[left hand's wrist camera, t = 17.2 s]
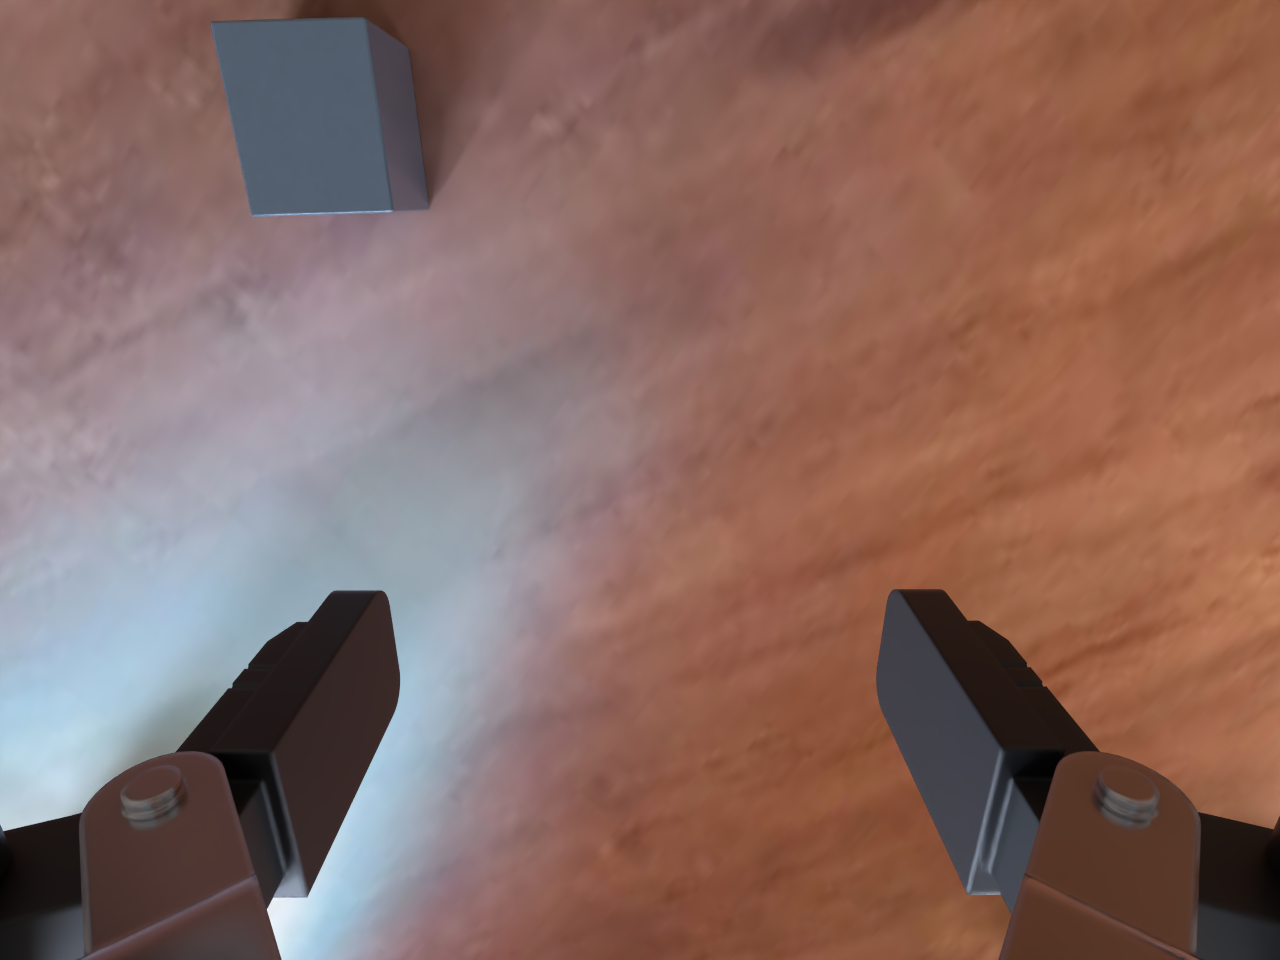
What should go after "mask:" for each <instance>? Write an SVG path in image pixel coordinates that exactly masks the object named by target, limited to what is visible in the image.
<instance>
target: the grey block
mask: <svg viewBox="0 0 1280 960" xmlns="http://www.w3.org/2000/svg"><path fill="white" fill-rule="evenodd" d="M211 28H212V33H213V38H214V42H215V47H216V52H217V56H218V61H219V66H220V70H221V75H222V80H223V84H224V89H225V94H226V98H227V103H228V108H229V112H230V117H231V122H232V126H233V131H234V136H235V140H236V145H237V150H238V154H239V159H240V164H241V168H242V173H243V178H244V182H245V187H246V192H247V196H248V201H249V206H250V210H251V214H252V216H254V217H269V216H301V215H333V214H365V213H394V212H411V211H427V210H429V203H428V195H427V187H426V179H425V171H424V164H423V156H422V148H421V140H420V132H419V125H418V117H417V109H416V101H415V93H414V86H413V78H412V70H411V62H410V54H409V48H408V47H407V46H406V45H404V44H403V43H401V42H400V41H398V40H397V39H396V38H394V37H393V36H391V35H390V34H388V33H387V32H385V31H384V30H383V29H381V28H380V27H378V26H377V25H375V24H374V23H372V22H371V21H370V20H368V19H367V18H365V17H333V18H299V19H266V20H232V21H212V22H211Z"/></svg>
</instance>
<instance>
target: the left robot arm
mask: <svg viewBox="0 0 1280 960" xmlns="http://www.w3.org/2000/svg"><path fill="white" fill-rule="evenodd" d="M248 665H249V666H248V669H244V670H243V672H242V673H241V674H240V675H239V676H238V678H237V679H236V680H235V681H234V682H233V687H232V688H228V690H227V691H226V692H225V693H224V694H223V696H222V697H221V698H220V699H219V700H218V702H217V703H216V704H215V705H214V706H213V708H212V709H211V710H210V711H209V713H208V714H207V715H206V716H205V717H204V719H203V720H202V721H201V722H200V723H199V725H198V726H197V727H196V728H195V729H194V731H193V732H192V733H191V734H190V735H189V737H188V738H187V739H186V740H185V741H184V743H183V744H182V745H181V746H180V747H179V749H178V750H177V751H176V752H175V753H171V754H166V755H162V756H159V757H156V758H153V759H150V760H147V761H145V762H143V763H140V764H138V765H136V766H134V767H132V768H130V769H128V770H126V771H125V772H123V773H121V774H120V775H118V776H117V777H115V778H114V779H112V780H111V781H110V782H108V783H107V784H106V785H104V786H103V787H102V788H101V789H100V790H99V791H98V792H97V793H96V794H95V795H94V796H93V797H92V798H91V800H90V801H89V802H88V804H87V805H86V807H85V808H84V810H83V812H82V813H79V814H76V815H72V816H68V817H63V818H59V819H55V820H50V821H46V822H42V823H37V824H33V825H29V826H24V827H20V828H16V829H12V830H7V831H3V830H2V828H1V825H0V960H281V957H280V953H279V950H278V946H277V943H276V940H275V936H274V933H273V929H272V926H271V923H270V919H269V916H268V913H267V908H268V906H269V904H270V902H271V900H272V898H273V897H308V895H309V892H310V890H311V888H312V886H313V884H314V882H315V880H316V878H317V875H318V873H319V871H320V869H321V867H322V865H323V863H324V861H325V859H326V856H327V854H328V852H329V850H330V848H331V846H332V844H333V842H334V839H335V837H336V835H337V833H338V831H339V829H340V827H341V825H342V823H343V820H344V818H345V816H346V814H347V812H348V810H349V808H350V806H351V803H352V801H353V799H354V797H355V795H356V793H357V791H358V789H359V787H360V784H361V782H362V780H363V778H364V776H365V774H366V772H367V770H368V767H369V765H370V763H371V761H372V759H373V757H374V755H375V753H376V750H377V748H378V746H379V744H380V742H381V740H382V738H383V736H384V734H385V731H386V729H387V727H388V725H389V723H390V721H391V719H392V717H393V714H394V712H395V709H396V706H397V702H398V697H399V690H400V671H399V664H398V657H397V651H396V644H395V638H394V631H393V624H392V618H391V611H390V605H389V601H388V597H387V595H386V594H385V592H383V591H333V592H332V593H330V594H329V596H328V597H327V598H326V599H325V601H324V602H323V603H322V605H321V606H320V607H319V609H318V610H317V611H316V612H315V614H314V615H313V616H312V618H311V619H310V620H309V621H308V622H296V623H295V624H293V625H292V626H290V627H289V628H287V629H286V630H284V631H283V632H281V633H280V634H278V635H277V636H275V637H274V638H272V639H270V640H269V641H267V643H266V644H265V645H264V646H263V647H262V649H261V650H260V651H259V652H258V653H257V655H256V656H255V657H254V658H253V659H252V661H251V662H250V663H249V664H248ZM876 684H877V694H878V699H879V703H880V707H881V710H882V712H883V714H884V717H885V719H886V721H887V723H888V725H889V727H890V729H891V732H892V734H893V736H894V738H895V740H896V742H897V744H898V747H899V749H900V751H901V753H902V755H903V757H904V759H905V762H906V764H907V766H908V768H909V770H910V772H911V775H912V777H913V779H914V781H915V783H916V785H917V787H918V790H919V792H920V794H921V796H922V798H923V800H924V802H925V805H926V807H927V809H928V811H929V813H930V815H931V817H932V820H933V822H934V824H935V826H936V828H937V830H938V832H939V835H940V837H941V839H942V841H943V843H944V845H945V847H946V850H947V852H948V854H949V856H950V858H951V860H952V862H953V865H954V867H955V869H956V871H957V873H958V875H959V877H960V880H961V882H962V884H963V886H964V888H965V890H966V892H967V895H1002V897H1003V899H1004V901H1005V903H1006V905H1007V907H1008V909H1009V911H1010V913H1011V915H1012V916H1011V919H1010V923H1009V926H1008V929H1007V933H1006V936H1005V940H1004V943H1003V946H1002V950H1001V953H1000V957H999V960H1280V817H1279V819H1278V821H1277V823H1276V826H1275V828H1274V829H1269V828H1265V827H1261V826H1256V825H1252V824H1248V823H1243V822H1239V821H1235V820H1230V819H1226V818H1222V817H1217V816H1213V815H1209V814H1204V813H1200V812H1197V810H1196V808H1195V807H1194V805H1193V804H1192V802H1191V801H1190V800H1189V798H1188V797H1187V796H1186V795H1185V794H1184V793H1183V792H1182V791H1181V790H1180V789H1179V788H1178V787H1177V786H1176V785H1174V784H1173V783H1172V782H1170V781H1169V780H1168V779H1166V778H1165V777H1163V776H1162V775H1160V774H1159V773H1157V772H1155V771H1154V770H1152V769H1150V768H1148V767H1146V766H1144V765H1142V764H1140V763H1137V762H1135V761H1133V760H1130V759H1127V758H1124V757H1121V756H1118V755H1114V754H1109V753H1104V752H1100V751H1099V750H1098V749H1097V748H1096V746H1095V745H1094V744H1093V743H1092V742H1091V740H1090V739H1089V738H1088V737H1087V735H1086V734H1085V733H1084V732H1083V731H1082V729H1081V728H1080V727H1079V726H1078V725H1077V723H1076V722H1075V721H1074V720H1073V718H1072V717H1071V716H1070V715H1069V714H1068V712H1067V711H1066V710H1065V709H1064V707H1063V706H1062V705H1061V704H1060V703H1059V701H1058V700H1057V699H1056V698H1055V697H1054V695H1053V694H1052V693H1051V692H1050V690H1049V689H1048V688H1047V687H1043V685H1042V681H1041V680H1040V678H1039V677H1038V676H1037V675H1036V673H1035V672H1034V671H1033V670H1032V669H1031V667H1027V662H1026V661H1025V660H1024V659H1023V658H1022V656H1021V655H1020V654H1019V653H1018V652H1017V650H1016V649H1015V648H1014V647H1013V645H1012V644H1011V643H1010V642H1009V641H1008V640H1007V639H1006V638H1004V637H1003V636H1001V635H1000V634H998V633H997V632H995V631H994V630H992V629H991V628H989V627H988V626H986V625H985V624H983V623H982V622H980V621H967V619H966V618H965V617H964V616H963V614H962V613H961V612H960V610H959V609H958V608H957V606H956V605H955V604H954V602H953V601H952V600H951V599H950V597H949V596H948V595H947V593H946V592H945V591H943V590H940V589H895V590H892V591H891V593H890V594H889V597H888V600H887V605H886V612H885V618H884V625H883V632H882V638H881V645H880V652H879V658H878V665H877V674H876Z"/></svg>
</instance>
